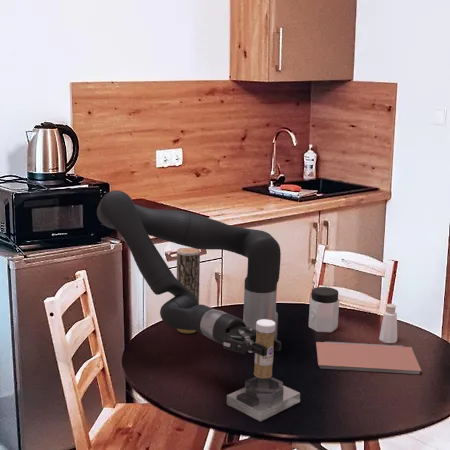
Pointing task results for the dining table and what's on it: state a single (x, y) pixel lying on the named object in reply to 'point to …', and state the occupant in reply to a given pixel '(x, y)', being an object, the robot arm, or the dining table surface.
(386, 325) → the salt shaker
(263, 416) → the octagonal ring base plate
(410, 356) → the notebook
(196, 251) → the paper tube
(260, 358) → the sprinkles bottle
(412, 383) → the dining table surface
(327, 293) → the jar
